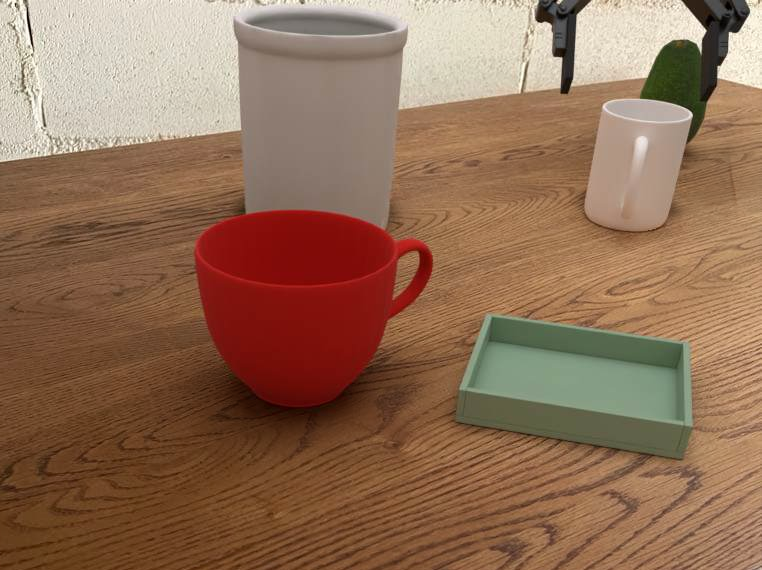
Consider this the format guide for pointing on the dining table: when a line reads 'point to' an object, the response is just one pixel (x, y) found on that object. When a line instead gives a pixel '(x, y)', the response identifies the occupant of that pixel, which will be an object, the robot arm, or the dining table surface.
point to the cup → (636, 163)
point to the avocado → (678, 80)
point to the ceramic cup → (301, 298)
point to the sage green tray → (579, 385)
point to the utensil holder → (319, 108)
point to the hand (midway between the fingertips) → (637, 90)
